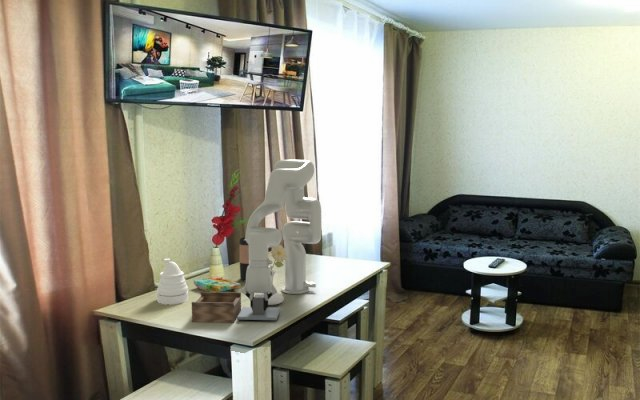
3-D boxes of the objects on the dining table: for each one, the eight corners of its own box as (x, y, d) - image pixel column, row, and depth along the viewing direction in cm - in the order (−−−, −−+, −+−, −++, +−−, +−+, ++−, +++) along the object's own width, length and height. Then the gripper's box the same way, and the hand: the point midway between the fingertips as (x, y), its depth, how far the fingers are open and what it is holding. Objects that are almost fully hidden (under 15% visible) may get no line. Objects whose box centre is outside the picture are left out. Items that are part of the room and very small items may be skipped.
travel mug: (237, 280, 273) (236, 239, 270) (244, 276, 280) (244, 236, 278) (251, 281, 270) (250, 240, 268) (258, 278, 277) (258, 238, 275)
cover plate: (280, 310, 225) (280, 293, 224) (276, 320, 213) (276, 302, 213) (243, 309, 226) (242, 292, 225) (237, 319, 214) (236, 301, 213)
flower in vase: (261, 308, 230) (260, 248, 227) (253, 301, 240) (252, 243, 237) (291, 305, 235) (291, 245, 232) (282, 297, 245) (281, 240, 242)
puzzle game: (215, 274, 267) (240, 282, 253) (215, 283, 268) (241, 292, 254) (193, 278, 259) (219, 287, 245) (194, 288, 260) (219, 297, 246)
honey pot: (162, 306, 233) (160, 263, 231) (153, 298, 244) (152, 257, 242) (192, 301, 240) (191, 259, 238) (182, 293, 251) (181, 254, 248)
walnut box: (241, 310, 227) (240, 292, 226) (234, 322, 213) (233, 303, 212) (201, 310, 228) (201, 291, 227) (192, 321, 214) (191, 302, 213)
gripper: (281, 261, 220) (281, 306, 223) (239, 260, 221) (239, 306, 224) (279, 265, 213) (279, 312, 215) (235, 265, 214) (236, 312, 216)
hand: (259, 308), depth 220 cm, fingers closed on cover plate, 4 cm apart
